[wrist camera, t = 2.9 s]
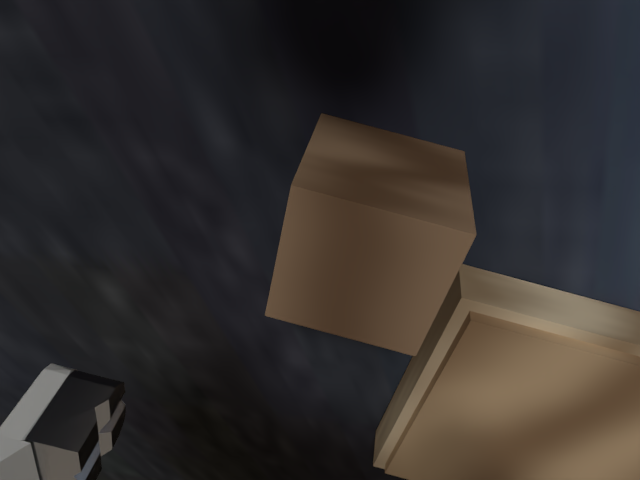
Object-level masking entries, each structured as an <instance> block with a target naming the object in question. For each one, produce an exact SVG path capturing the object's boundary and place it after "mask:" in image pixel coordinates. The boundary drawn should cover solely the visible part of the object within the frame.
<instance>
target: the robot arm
mask: <svg viewBox="0 0 640 480" xmlns="http://www.w3.org/2000/svg"><path fill="white" fill-rule="evenodd" d="M124 393H125V386H124V382H120V381H116V380H112V379H109V378H105V377H101V376H97V375H93V374H89V373H85V372H81V371H78V370H76V369H72V368H68V367H63V366H59V365H55V364H50V365H49V366H47V367H46V368H45V369H44V370H42V372H41V373H40V374H39V376H38V377H37V378H36V380H35V381H34V382H33V384H32V385H31V386H30V388H29V389H28V390H27V392H26V393H25V394H24V396H23V397H22V398H21V400H20V401H19V403H18V404H17V405H16V407H15V408H14V409H13V411H12V412H11V413H10V415H9V416H8V417H7V419H6V420H5V421H4V423H3V424H2V425H1V427H0V480H96V479H97V477H98V475H99V474H100V472H101V470H102V466H101V456H102V455H104V454H105V453H107V452H108V451H110V450H111V449H113V447H114V445H115V443H116V441H117V439H118V437H119V434H120V431H121V429H122V426H123V423H124V419H125V413H126V405H125V404H124V403H123V401H122V400H121V399H122V397H123V395H124Z"/></svg>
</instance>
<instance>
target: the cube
mask: <svg viewBox="0 0 640 480" xmlns="http://www.w3.org/2000/svg"><path fill="white" fill-rule="evenodd" d="M475 237H476V229H475V222H474V215H473V208H472V201H471V194H470V187H469V180H468V173H467V166H466V159H465V152H464V151H461V150H457V149H453V148H450V147H446V146H442V145H438V144H435V143H431V142H427V141H423V140H420V139H416V138H412V137H409V136H405V135H401V134H397V133H394V132H390V131H386V130H382V129H379V128H375V127H371V126H367V125H364V124H360V123H356V122H352V121H349V120H345V119H341V118H338V117H334V116H330V115H326V114H323V113H321V115H320V118H319V120H318V123H317V125H316V127H315V130H314V132H313V134H312V137H311V139H310V142H309V144H308V146H307V149H306V151H305V153H304V156H303V158H302V161H301V163H300V165H299V168H298V170H297V172H296V175H295V177H294V180H293V182H292V184H291V188H290V193H289V198H288V203H287V208H286V213H285V218H284V223H283V228H282V233H281V238H280V243H279V248H278V253H277V258H276V263H275V268H274V273H273V278H272V283H271V288H270V293H269V298H268V303H267V307H266V312H265V316H268V317H272V318H275V319H279V320H283V321H287V322H290V323H294V324H298V325H301V326H305V327H309V328H312V329H316V330H320V331H323V332H327V333H331V334H335V335H338V336H342V337H346V338H349V339H353V340H357V341H360V342H364V343H368V344H371V345H375V346H379V347H383V348H386V349H390V350H394V351H397V352H401V353H405V354H408V355H412V356H416V355H417V353H418V351H419V349H420V347H421V345H422V343H423V341H424V339H425V337H426V335H427V333H428V331H429V329H430V327H431V325H432V323H433V321H434V319H435V317H436V315H437V313H438V311H439V309H440V307H441V305H442V303H443V301H444V299H445V297H446V295H447V293H448V291H449V289H450V287H451V285H452V283H453V281H454V279H455V277H456V275H457V273H458V271H459V269H460V267H461V265H462V263H463V261H464V259H465V257H466V255H467V253H468V251H469V249H470V247H471V245H472V243H473V241H474V239H475Z"/></svg>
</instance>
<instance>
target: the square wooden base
mask: <svg viewBox="0 0 640 480" xmlns="http://www.w3.org/2000/svg"><path fill="white" fill-rule="evenodd" d="M373 466H375V467H378V468H382V469H385V473H386V474H390V475H393V476H397V477H401V478H404V479H408V480H640V312H639V311H635V310H631V309H627V308H624V307H620V306H616V305H613V304H609V303H605V302H601V301H598V300H594V299H590V298H587V297H583V296H579V295H575V294H572V293H568V292H564V291H561V290H557V289H553V288H549V287H546V286H542V285H538V284H534V283H531V282H527V281H523V280H520V279H516V278H512V277H508V276H505V275H501V274H497V273H494V272H490V271H486V270H482V269H479V268H475V267H471V266H468V265H464V264H462V265H461V267H460V269H459V271H458V273H457V275H456V277H455V279H454V281H453V283H452V285H451V287H450V289H449V291H448V293H447V295H446V297H445V299H444V301H443V303H442V305H441V307H440V309H439V311H438V313H437V315H436V317H435V319H434V321H433V323H432V325H431V327H430V329H429V331H428V333H427V335H426V337H425V339H424V341H423V343H422V345H421V347H420V349H419V351H418V353H417V355H416V356H413V357H412V359H411V361H410V363H409V365H408V367H407V369H406V371H405V373H404V375H403V377H402V379H401V381H400V383H399V385H398V387H397V389H396V391H395V393H394V395H393V397H392V399H391V401H390V403H389V405H388V407H387V409H386V411H385V414H384V416H383V418H382V420H381V422H380V424H379V426H378V428H377V430H376V436H375V448H374V459H373Z"/></svg>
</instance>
